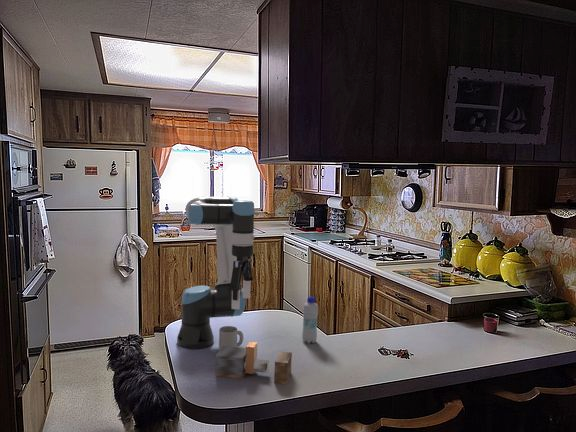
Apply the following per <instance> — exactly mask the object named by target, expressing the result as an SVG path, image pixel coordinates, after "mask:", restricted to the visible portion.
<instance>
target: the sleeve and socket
mask: <svg viewBox="0 0 576 432" xmlns="http://www.w3.org/2000/svg"><path fill="white" fill-rule="evenodd" d="M245 358H246V347H239V346H238V347H228V346H223V347H222V348H221V349H220V351H218V352H217V353H216V354H215V366H214V367H215V373H214V376H215V377H225V378H233V379H238V380H239V379H240V380H242V379H243V378H244V376H245V375H246V373H245V370H244V359H245ZM292 358H293V352H291V351H290V352H289V351H288V352H287V351H281V350H280V351H279V352H278V354H277V356H276V359H274V360H275V361H274V373H273V375H274V376H273V380H274V381H273V382H274V384H282V385H288V381H289V380H290V376H291V374H292Z"/></svg>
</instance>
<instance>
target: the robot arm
mask: <svg viewBox="0 0 576 432" xmlns="http://www.w3.org/2000/svg"><path fill="white" fill-rule="evenodd" d="M255 211H256V210H255V203H254V201H252V200H244V199H243V200H241V199H240V200H239V199H238V198H237V197H234V196H233V197H232V196H200V197H196V198H192V199H191V200H189V201H188V202H187V203H186V206H185V213H186V216H187V222H188V224H189V225H196V226H199V225H201V226H202V225H206V226H207V225H212V227H213V228H214V229H215V234H216V236H215V237H216V238H215V239H216V260H217V261H216V262H217V263H216V264H217V265H216V266H217V267H216V268H217V282H216V283H215V285H214V289H211V287H210V286H208V285H195V286H191V287H188V288H186V289H184V291H183V292H182V295H181V325H180V329H179V331H178V334H177V337H176V343H177V345H178V346H179V347H180V348H184V349H189V350H197V349H199V350H200V349H204V348H207V347H209V346H211V345H212V344H213V343H214V342H215V341H214V339H215V338H214V337H215V336H214V333H213V330H212V327H211V323H210V322H211V319H212V318H225V317H226V318H228V317H231V318H232V317H240V316H241V315H243V313H244V312H245V307H246V301H247V299H251V282H253V281H254V277H253V269H252V262H251V261H252V258H251V257H252V256H253V255H254V246H253V244H254V239H255V237H256V236H255V235H254V229H255V228H254V226H255ZM242 279H243V280H242Z"/></svg>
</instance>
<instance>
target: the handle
mask: <svg viewBox="0 0 576 432" xmlns="http://www.w3.org/2000/svg"><path fill="white" fill-rule="evenodd" d="M245 348H246V358H245V359H244V370H245V374H249V375H254V374H255V372H256V373H263V374H267V373H268V372H269V367H270V363H269V362H270V360H268V359H263V358H258V342H257V341H248V343H247V345H246V346H245Z"/></svg>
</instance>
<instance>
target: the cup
mask: <svg viewBox="0 0 576 432" xmlns="http://www.w3.org/2000/svg"><path fill="white" fill-rule="evenodd" d="M218 332H219V333H218V334H219V335H218V338H219V339H218V340H219V341H218V350H219V351H220V349H221V348H222V347H223V346H228V347H238V348H239V347H240V346H241V345H243V342H244V334H243V331H241V330H238V327H236V326H233V325H232V326H231V325H225V326H222V327H220V328H219V331H218ZM238 336H239V341H238ZM219 351H218V352H219Z"/></svg>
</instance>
